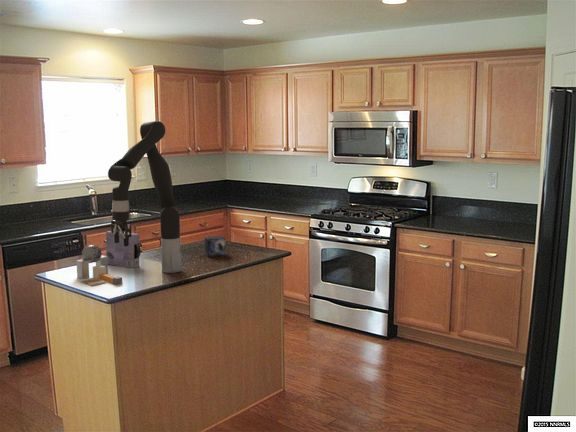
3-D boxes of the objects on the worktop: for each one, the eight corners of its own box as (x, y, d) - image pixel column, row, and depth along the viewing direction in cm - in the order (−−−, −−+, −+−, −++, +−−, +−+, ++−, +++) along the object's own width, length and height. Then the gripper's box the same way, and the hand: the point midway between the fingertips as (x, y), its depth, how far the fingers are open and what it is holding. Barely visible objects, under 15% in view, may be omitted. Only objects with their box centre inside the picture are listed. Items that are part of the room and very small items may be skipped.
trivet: (106, 282, 277) (106, 281, 277) (92, 286, 271) (92, 284, 271) (94, 279, 283) (94, 277, 283) (81, 282, 278) (81, 280, 278)
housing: (107, 273, 293) (106, 243, 291) (82, 279, 283) (80, 248, 280) (102, 271, 296) (101, 242, 294) (77, 277, 286) (75, 247, 283)
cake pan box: (141, 266, 307) (140, 233, 304) (136, 268, 303) (134, 234, 299) (111, 262, 314) (110, 230, 311) (105, 264, 310) (104, 231, 307)
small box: (207, 257, 326) (207, 239, 324) (204, 255, 332) (204, 236, 330) (226, 255, 330) (225, 237, 329) (222, 253, 336) (222, 235, 334)
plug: (123, 283, 276) (123, 271, 275) (115, 285, 273) (114, 273, 272) (101, 275, 289) (100, 265, 288) (93, 277, 285) (92, 266, 284)
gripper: (136, 211, 266) (136, 246, 269) (120, 207, 276) (121, 240, 279) (121, 212, 261) (121, 248, 264) (105, 208, 271) (106, 243, 274)
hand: (121, 244), depth 271 cm, fingers open, 8 cm apart
